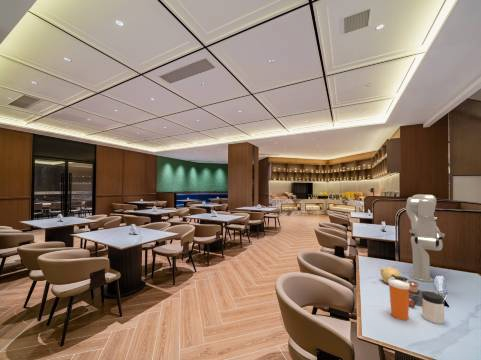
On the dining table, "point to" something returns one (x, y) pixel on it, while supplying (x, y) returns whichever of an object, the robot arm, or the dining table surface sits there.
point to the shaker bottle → (399, 296)
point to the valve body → (415, 299)
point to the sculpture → (389, 273)
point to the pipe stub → (413, 287)
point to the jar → (432, 307)
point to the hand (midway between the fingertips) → (426, 245)
